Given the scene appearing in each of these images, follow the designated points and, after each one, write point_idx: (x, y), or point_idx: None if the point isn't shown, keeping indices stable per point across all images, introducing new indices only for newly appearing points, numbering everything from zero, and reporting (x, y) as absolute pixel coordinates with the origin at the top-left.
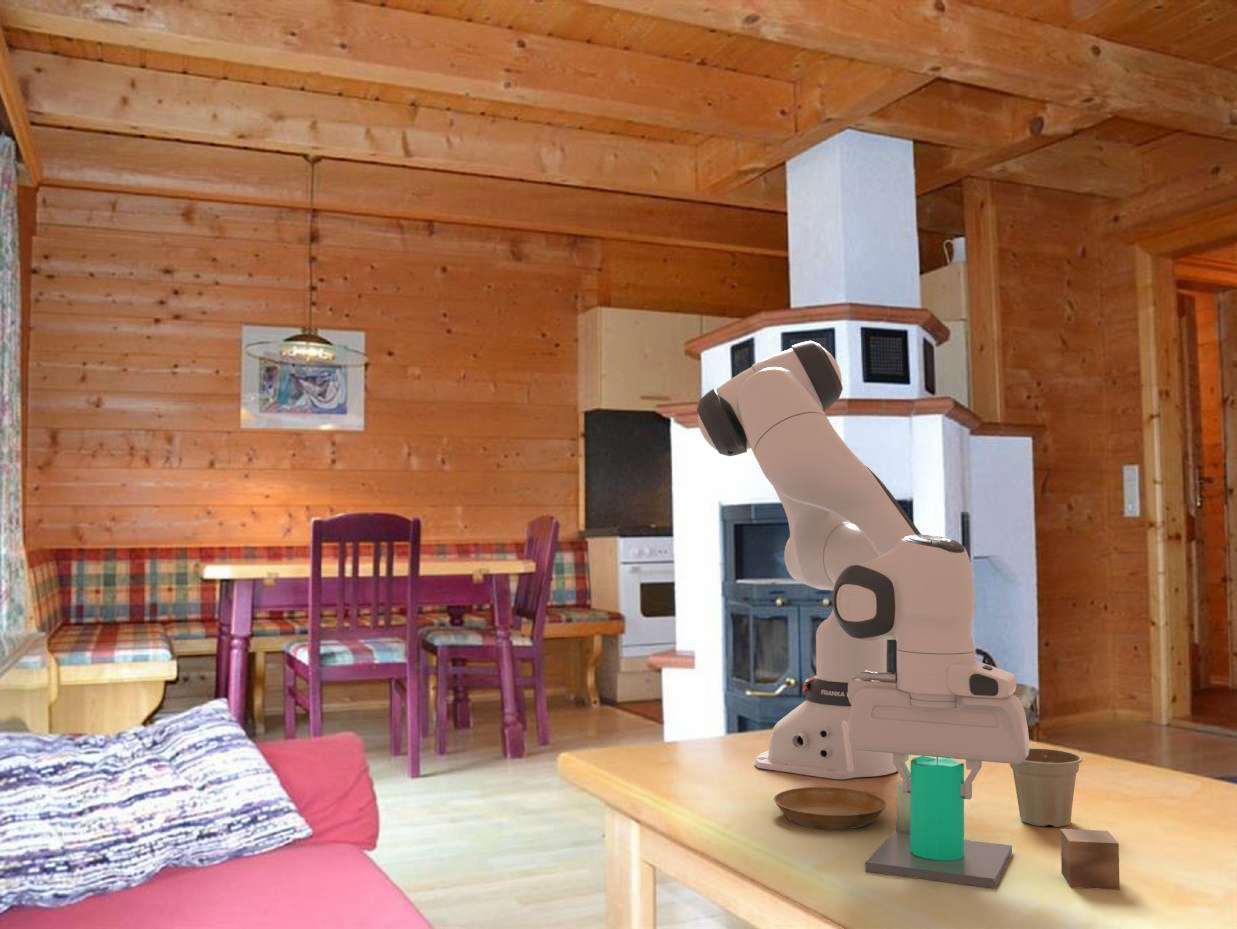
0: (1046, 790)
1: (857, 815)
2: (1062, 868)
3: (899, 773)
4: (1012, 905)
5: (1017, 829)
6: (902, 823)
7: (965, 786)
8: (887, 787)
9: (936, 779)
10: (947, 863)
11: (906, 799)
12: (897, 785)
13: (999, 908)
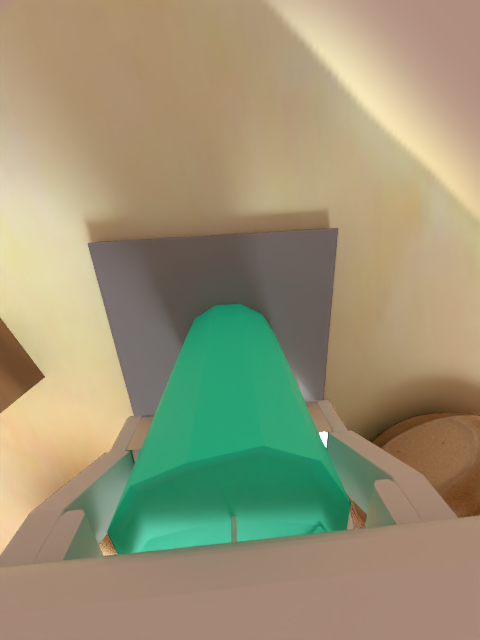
0: None
1: (387, 441)
2: (31, 375)
3: (367, 441)
4: (24, 147)
5: None
6: None
7: (127, 443)
8: None
9: (207, 405)
10: (196, 296)
11: None
12: (350, 518)
13: (35, 109)
